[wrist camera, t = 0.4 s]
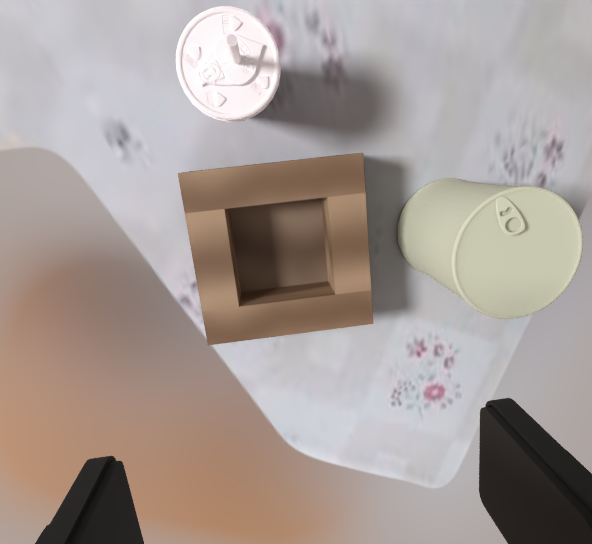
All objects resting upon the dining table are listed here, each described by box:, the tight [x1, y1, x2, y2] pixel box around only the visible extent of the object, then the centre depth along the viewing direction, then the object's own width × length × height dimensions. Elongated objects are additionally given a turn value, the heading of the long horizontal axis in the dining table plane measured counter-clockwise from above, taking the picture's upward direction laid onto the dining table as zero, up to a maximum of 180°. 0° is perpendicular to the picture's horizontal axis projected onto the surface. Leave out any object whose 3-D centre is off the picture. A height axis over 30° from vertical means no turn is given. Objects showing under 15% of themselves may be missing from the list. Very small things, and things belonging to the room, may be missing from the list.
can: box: [397, 178, 583, 319], centre depth 33 cm, size 9×9×12 cm
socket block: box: [178, 153, 373, 345], centre depth 35 cm, size 14×14×5 cm
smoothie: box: [176, 6, 281, 122], centre depth 28 cm, size 6×6×14 cm
